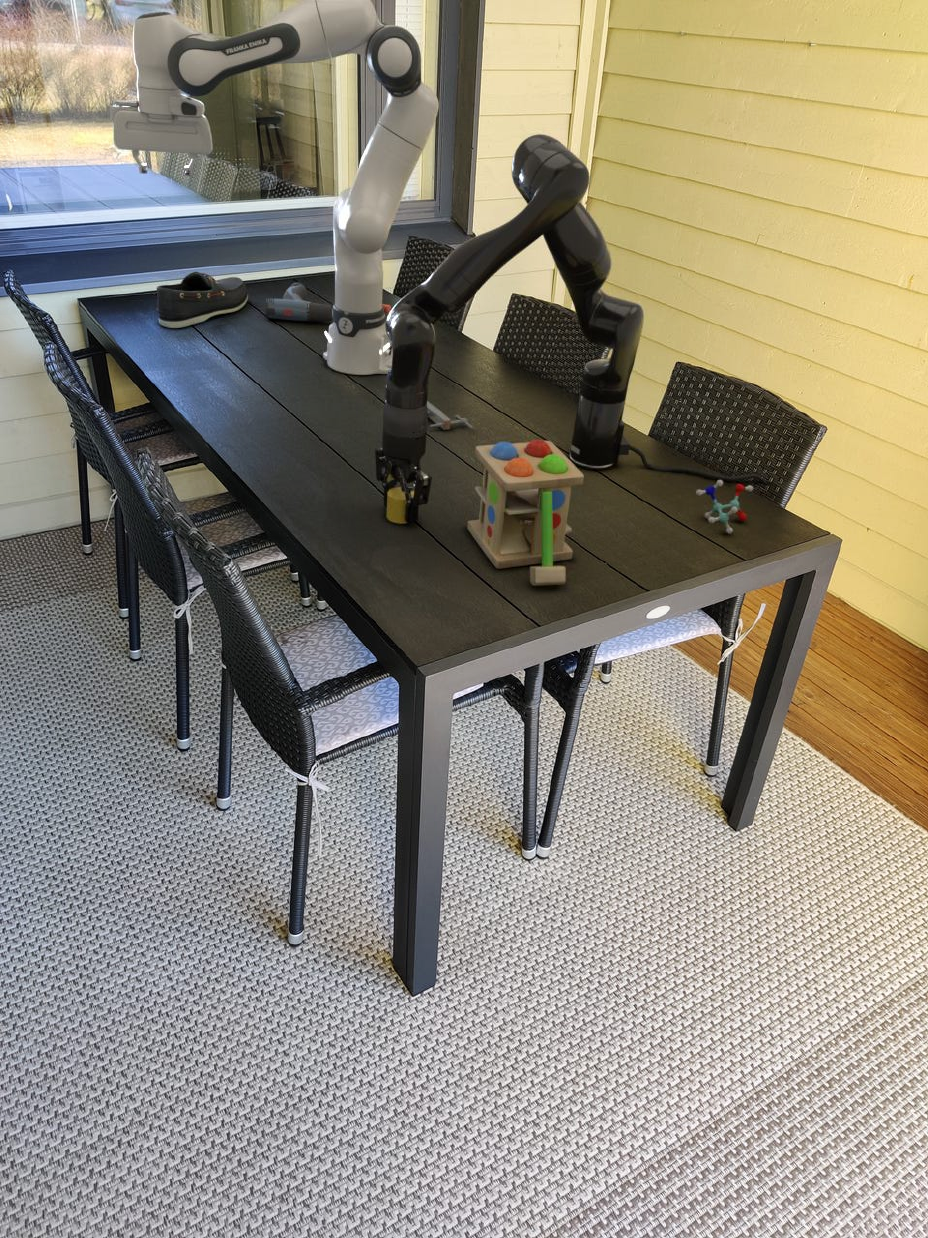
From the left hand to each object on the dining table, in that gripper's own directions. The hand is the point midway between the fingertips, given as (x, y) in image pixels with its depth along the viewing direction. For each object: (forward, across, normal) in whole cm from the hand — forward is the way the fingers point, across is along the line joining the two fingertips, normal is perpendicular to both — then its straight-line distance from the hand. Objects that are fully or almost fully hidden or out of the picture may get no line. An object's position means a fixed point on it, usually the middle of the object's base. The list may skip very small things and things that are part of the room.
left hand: (166, 174), depth 212 cm
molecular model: (+40, +103, -85) cm, 139 cm away
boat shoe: (+40, +4, +32) cm, 51 cm away
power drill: (+40, +31, +34) cm, 61 cm away
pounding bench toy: (+40, +63, -96) cm, 122 cm away
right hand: (+39, +43, -82) cm, 100 cm away
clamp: (+40, +56, -40) cm, 80 cm away
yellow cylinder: (+40, +43, -82) cm, 100 cm away
